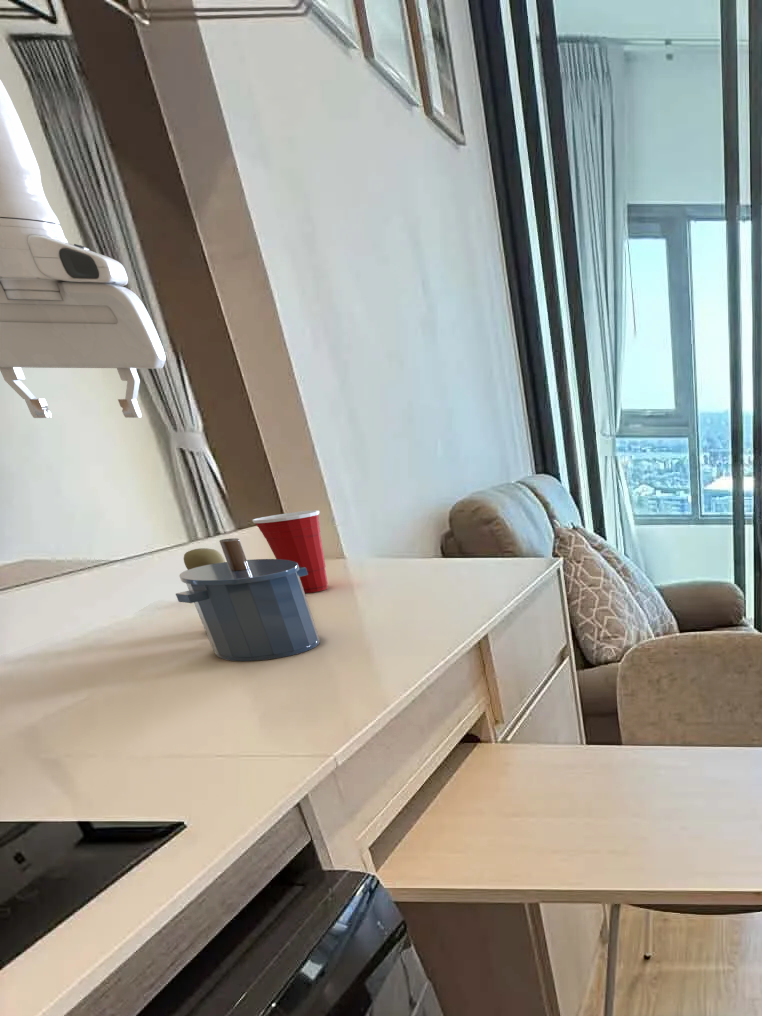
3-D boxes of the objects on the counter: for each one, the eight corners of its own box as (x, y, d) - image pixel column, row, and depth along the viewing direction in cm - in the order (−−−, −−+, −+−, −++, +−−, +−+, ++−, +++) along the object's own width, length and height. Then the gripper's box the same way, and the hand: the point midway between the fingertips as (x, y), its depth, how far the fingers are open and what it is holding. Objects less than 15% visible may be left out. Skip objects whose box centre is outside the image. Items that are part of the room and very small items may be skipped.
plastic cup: (308, 581, 157) (284, 507, 149) (355, 585, 154) (332, 508, 146) (263, 594, 149) (235, 516, 141) (311, 598, 146) (285, 518, 138)
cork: (218, 637, 126) (185, 554, 119) (203, 631, 129) (170, 550, 122) (259, 629, 129) (229, 548, 122) (243, 623, 132) (213, 544, 125)
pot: (176, 660, 116) (143, 584, 110) (288, 627, 130) (264, 558, 124) (245, 670, 112) (215, 592, 106) (354, 635, 125) (332, 564, 119)
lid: (158, 585, 112) (141, 546, 109) (251, 565, 123) (237, 528, 120) (234, 594, 108) (218, 552, 105) (324, 572, 118) (312, 533, 115)
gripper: (-104, 253, 86) (-26, 419, 95) (122, 260, 90) (176, 418, 99) (-74, 258, 91) (-3, 416, 99) (139, 265, 95) (190, 416, 104)
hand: (88, 417), depth 99 cm, fingers open, 8 cm apart
